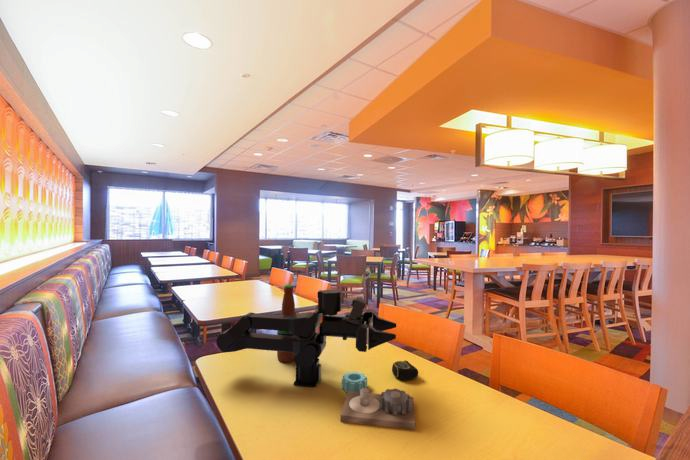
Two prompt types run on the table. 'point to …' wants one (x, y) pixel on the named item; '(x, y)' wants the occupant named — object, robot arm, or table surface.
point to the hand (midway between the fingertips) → (396, 330)
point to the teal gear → (354, 381)
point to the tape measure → (404, 370)
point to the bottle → (287, 309)
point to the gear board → (379, 409)
